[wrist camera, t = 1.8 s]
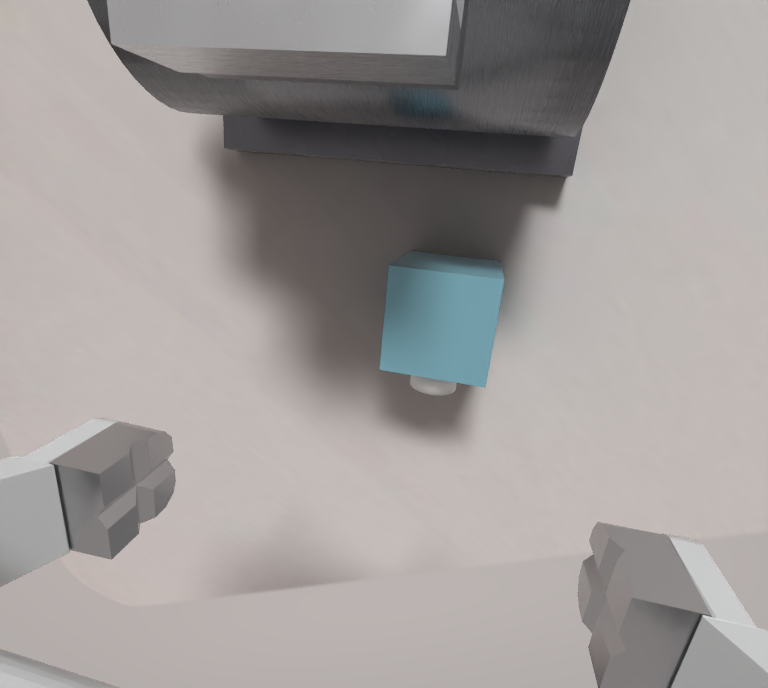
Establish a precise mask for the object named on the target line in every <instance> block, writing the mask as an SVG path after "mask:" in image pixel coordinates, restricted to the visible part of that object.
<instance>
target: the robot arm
mask: <svg viewBox="0 0 768 688" xmlns="http://www.w3.org/2000/svg"><path fill="white" fill-rule="evenodd" d="M172 453H173V444H172V437H171V436H170V435H169V434H167V433H166V432H164V431H159V430H155V429H151V428H146V427H142V426H138V425H133V424H129V423H125V422H120V421H115V420H111V419H106V418H93V419H92V420H90V421H88V422H86V423H84V424H82V425H81V426H79V427H77V428H75V429H73V430H72V431H70V432H68V433H66V434H64V435H62V436H61V437H59V438H57V439H55V440H53V441H52V442H50V443H48V444H46V445H44V446H42V447H41V448H39V449H37V450H35V451H33V452H32V453H30V454H28V455H26V456H24V457H23V458H22V457H18V456H13V457H9V458H5V459H1V460H0V587H1V586H3V585H5V584H7V583H9V582H11V581H13V580H15V579H17V578H19V577H21V576H23V575H25V574H27V573H29V572H31V571H33V570H35V569H37V568H39V567H41V566H43V565H45V564H47V563H49V562H51V561H53V560H55V559H57V558H59V557H61V556H64V555H66V554H68V553H69V552H70V550H73V551H77V552H81V553H86V554H90V555H94V556H99V557H103V558H107V559H113V558H114V557H115V556H116V555H117V554H118V553H119V552H120V551H121V550H122V549H123V548H124V547H125V546H126V545H127V544H128V543H129V542H130V541H132V540H133V539H134V538H135V537H136V536H137V535H138V534H139V529H140V523H143V522H145V521H148V520H150V519H152V518H155V517H156V516H157V515H158V514H159V513H160V512H161V511H162V510H163V509H164V508H165V507H166V506H167V504H168V502H169V500H170V498H171V496H172V494H173V492H174V487H175V481H176V480H175V470H174V468H173V467H172V465H171V464H170V462H169V461H168V460H167V459H168V458H169V457H170V455H171V454H172ZM589 541H590V545H591V548H592V551H593V555H592V556H590V557H589V558H587V559H586V560H584V561H583V563H582V568H581V571H580V575H579V584H578V601H579V609H580V614H581V618H582V622H583V623H584V624H585V625H586V626H587V627H588V629H589V630H590V631H591V632H592V633H593V634H592V637H591V640H590V644H589V647H588V648H589V652H590V656H591V660H592V664H593V668H594V672H595V676H596V680H597V684H598V688H768V630H764V629H759V628H757V627H756V626H755V624H754V623H753V621H752V620H751V618H750V616H749V615H748V613H747V612H746V610H745V609H744V607H743V606H742V604H741V602H740V601H739V599H738V598H737V596H736V595H735V593H734V592H733V590H732V589H731V587H730V586H729V584H728V583H727V581H726V580H725V578H724V576H723V575H722V573H721V572H720V570H719V569H718V567H717V566H716V564H715V563H714V561H713V559H712V558H711V556H710V555H709V553H708V552H707V550H706V549H705V547H704V546H703V545H702V544H701V543H699V542H698V541H697V540H696V539H690V538H684V537H679V536H673V535H667V534H657V533H652V532H647V531H642V530H637V529H632V528H627V527H622V526H617V525H612V524H607V523H602V522H597V523H596V525H595V526H594V528H593V530H592V534H591V537H590V540H589ZM0 688H119V687H116V686H113V685H110V684H107V683H104V682H101V681H98V680H95V679H91V678H88V677H85V676H82V675H79V674H76V673H73V672H70V671H66V670H64V669H61V668H58V667H54V666H51V665H48V664H45V663H42V662H39V661H36V660H33V659H30V658H26V657H24V656H20V655H17V654H14V653H11V652H8V651H5V650H2V649H0Z"/></svg>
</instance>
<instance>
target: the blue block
mask: <svg viewBox="0 0 768 688" xmlns="http://www.w3.org/2000/svg"><path fill="white" fill-rule="evenodd" d="M504 280H505V279H504V275H503V271H502V266H501V262H500V261H494V260H485V259H477V258H468V257H459V256H451V255H442V254H433V253H425V252H416V251H409V252H408V253H406V254H405V255H403V256H402V257H400V258H399V259H398V260H396V261H395V262H393V263H392V264H390V265H389V268H388V279H387V291H386V302H385V313H384V324H383V335H382V346H381V357H380V368H379V370H383V371H389V372H395V373H401V374H407V375H411V377H410V385H411V387H412V388H414V389H415V390H417V391H419V392H422V393H425V394H429V395H448V394H451V393H453V392H455V390H456V386H457V383H461V384H467V385H473V386H479V387H486V381H487V375H488V370H489V364H490V359H491V353H492V347H493V342H494V336H495V331H496V325H497V319H498V314H499V308H500V303H501V297H502V291H503V286H504Z"/></svg>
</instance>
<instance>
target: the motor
mask: <svg viewBox="0 0 768 688" xmlns="http://www.w3.org/2000/svg"><path fill="white" fill-rule="evenodd" d="M87 1H88V3H89V5H90V7H91V9H92V11H93V13H94V16H95V18H96V20H97V22H98V24H99V26H100V27H101V29H102V31H103V33H104V34H105V36H106V38H107V40H108V42H109V43H110V45H111V46H112V48H113V49H114V51H115V52H116V54H117V55H118V57H119V58H120V60H121V61H122V63H123V64H124V65H125V67H126V68H127V69H128V70H129V72H130V73H131V74H132V76H133V77H134V78H135V79H136V80H137V81H138V82H139V83H140V84H141V85H142V86H143V87H144V88H145V89H146V90H147V91H148V92H149V93H150V94H151V95H153V96H154V97H155V98H156V99H157V100H159V101H160V102H162V103H164V104H165V105H167V106H168V107H170V108H173V109H175V110H178V111H181V112H187V113H197V114H212V115H223V121H224V148H226V149H231V150H237V151H246V152H258V153H271V154H283V155H295V156H308V157H320V158H333V159H345V160H358V161H370V162H382V163H395V164H407V165H420V166H432V167H445V168H457V169H469V170H482V171H494V172H507V173H519V174H532V175H544V176H556V177H570V176H572V174H573V169H574V164H575V160H576V155H577V150H578V146H579V141H580V136H581V131H582V127H583V124H584V123H585V121H586V119H587V117H588V115H589V113H590V111H591V108H592V106H593V104H594V102H595V99H596V97H597V94H598V92H599V90H600V87H601V85H602V82H603V79H604V77H605V74H606V71H607V69H608V66H609V63H610V60H611V58H612V55H613V52H614V49H615V46H616V43H617V40H618V37H619V34H620V31H621V28H622V25H623V22H624V19H625V15H626V12H627V9H628V6H629V3H630V0H87Z"/></svg>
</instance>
